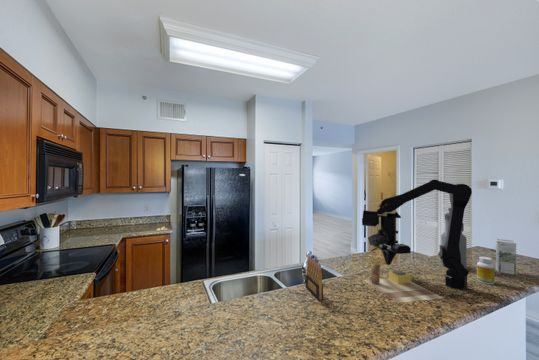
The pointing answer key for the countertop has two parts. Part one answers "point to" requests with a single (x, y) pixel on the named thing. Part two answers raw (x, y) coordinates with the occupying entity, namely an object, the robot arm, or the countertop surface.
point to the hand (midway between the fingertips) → (388, 264)
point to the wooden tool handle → (375, 273)
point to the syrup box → (506, 256)
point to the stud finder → (399, 277)
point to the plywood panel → (403, 291)
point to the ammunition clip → (314, 279)
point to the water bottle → (462, 240)
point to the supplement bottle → (485, 271)
